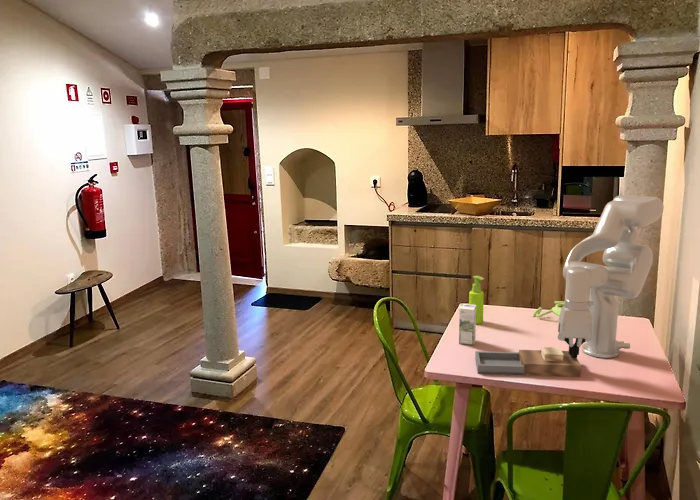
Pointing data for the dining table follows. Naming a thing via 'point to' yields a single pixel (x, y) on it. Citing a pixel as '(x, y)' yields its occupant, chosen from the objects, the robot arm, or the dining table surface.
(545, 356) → the tile
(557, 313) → the figurine
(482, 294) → the soap dispenser
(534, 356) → the board
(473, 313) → the syrup box
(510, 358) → the box
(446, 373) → the dining table surface
